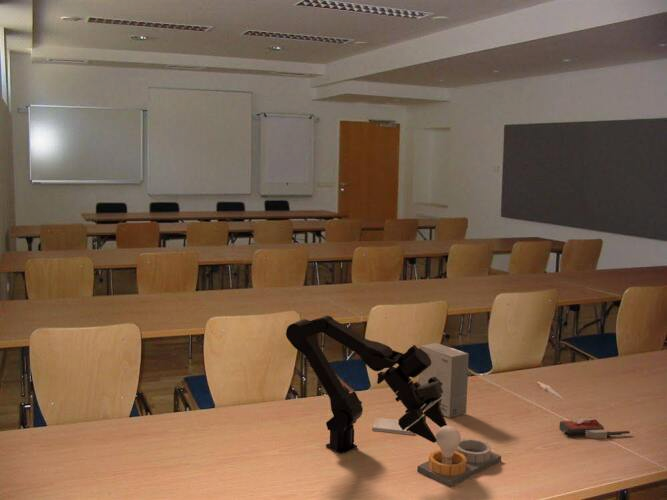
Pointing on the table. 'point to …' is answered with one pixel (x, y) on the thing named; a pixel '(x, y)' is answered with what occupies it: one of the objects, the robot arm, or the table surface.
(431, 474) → the bulb holder
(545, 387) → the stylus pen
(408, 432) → the hard drive
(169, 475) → the table surface
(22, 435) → the table surface
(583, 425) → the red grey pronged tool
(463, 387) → the hard drive box
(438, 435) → the lightbulb
